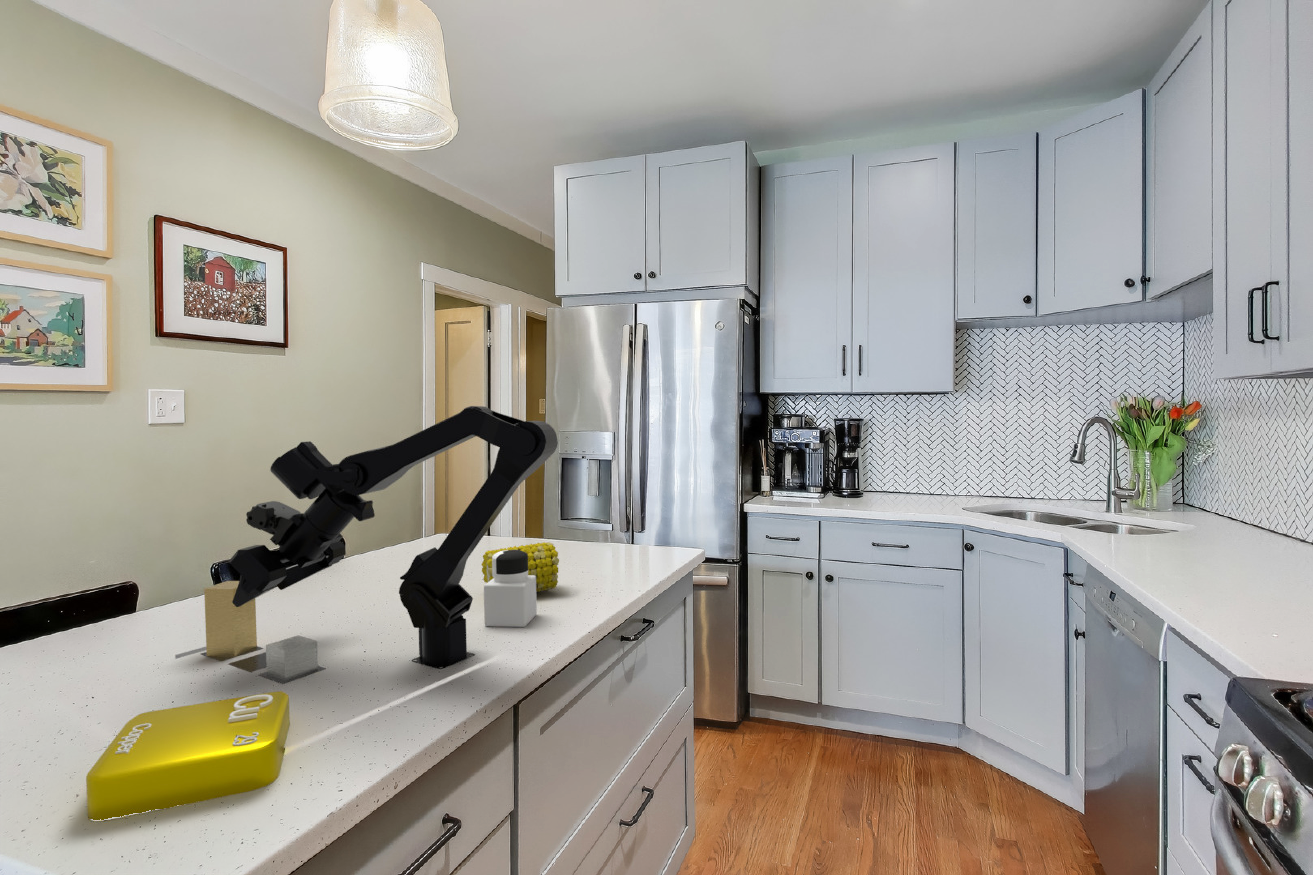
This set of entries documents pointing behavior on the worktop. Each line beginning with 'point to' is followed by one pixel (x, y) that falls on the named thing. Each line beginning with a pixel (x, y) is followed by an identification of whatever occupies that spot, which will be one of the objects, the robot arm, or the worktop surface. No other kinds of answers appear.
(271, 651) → the zinc block
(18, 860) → the worktop surface
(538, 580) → the food
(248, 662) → the grey slotted plate
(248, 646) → the tan wooden block
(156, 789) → the element tile
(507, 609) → the medicine bottle
